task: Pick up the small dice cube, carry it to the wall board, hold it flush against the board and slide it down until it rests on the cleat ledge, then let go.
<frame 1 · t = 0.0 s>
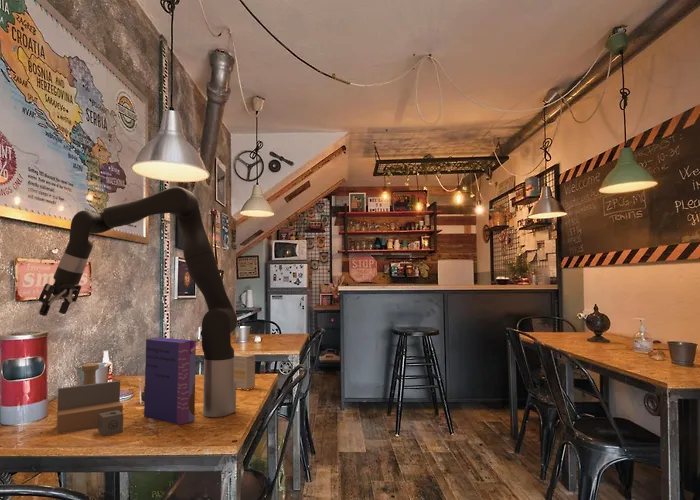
hand: (52, 314, 143), 31 cm above the table, tool tilted 20°, fingers open, 8 cm apart
handle: (88, 412, 140), on the table
cereal box: (168, 419, 132), on the table
supplement box: (243, 389, 169), on the table
dice cube: (110, 432, 120), on the table
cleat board: (88, 422, 129), on the table
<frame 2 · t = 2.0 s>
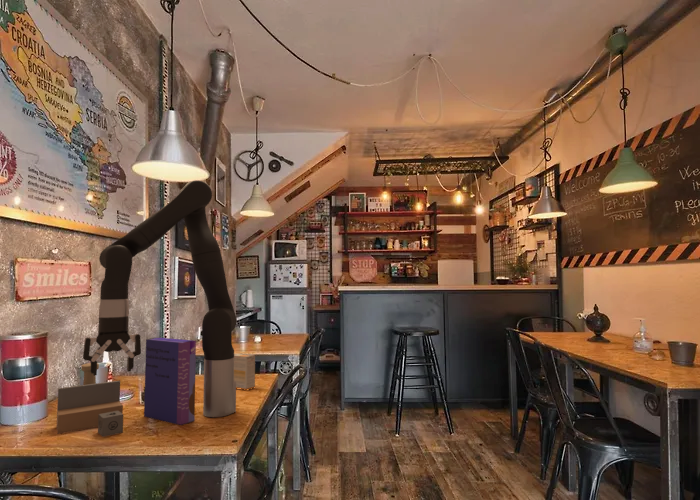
hand: (112, 372, 122), 16 cm above the table, tool pointing down, fingers open, 8 cm apart
nothing on the table moved.
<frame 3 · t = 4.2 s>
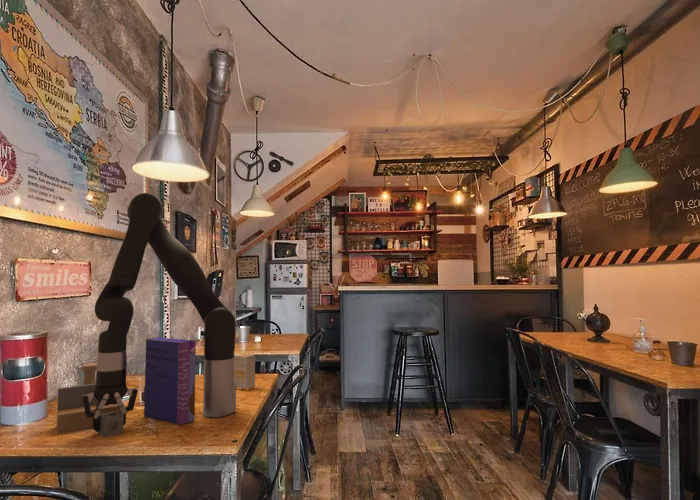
hand: (109, 428, 120), 1 cm above the table, tool pointing down, fingers closed on dice cube, 5 cm apart
dice cube: (110, 433, 119), on the table, touching gripper
everything else where it was.
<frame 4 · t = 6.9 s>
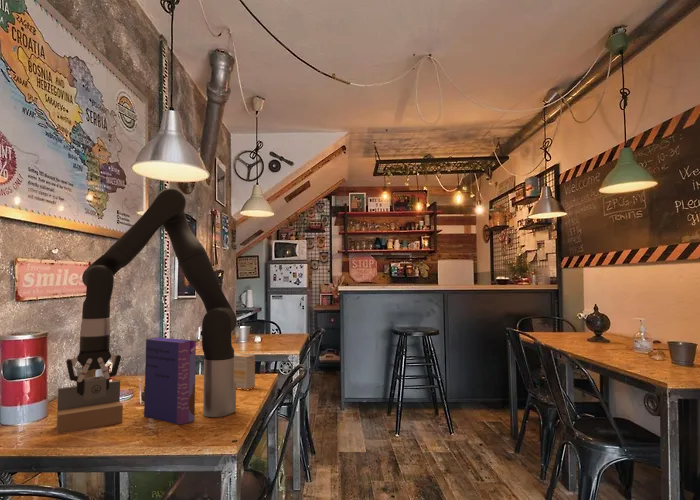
hand: (92, 392, 124), 10 cm above the table, tool pointing down, fingers closed on dice cube, 5 cm apart
dice cube: (93, 397, 123), point 9 cm above the table, touching gripper
everything else where it was.
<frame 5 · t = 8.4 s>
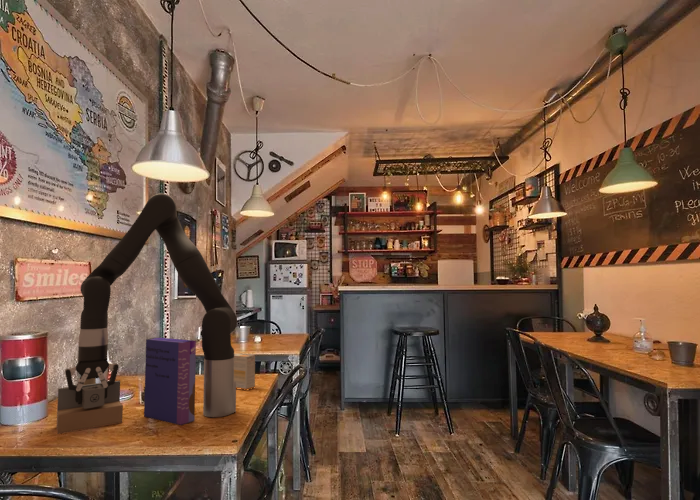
hand: (91, 401, 127), 7 cm above the table, tool pointing down, fingers closed on dice cube, 5 cm apart
dice cube: (92, 406, 126), point 6 cm above the table, touching gripper
everything else where it was.
when the fingers open (6 cm above the table, at t = 9.6 s): dice cube stays where it is, resting on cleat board.
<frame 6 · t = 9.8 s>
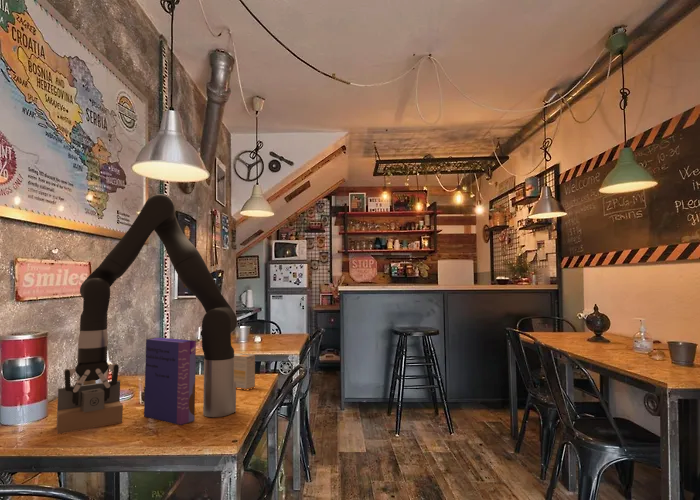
hand: (91, 402, 126), 7 cm above the table, tool pointing down, fingers open, 6 cm apart
dice cube: (92, 409, 125), point 5 cm above the table, touching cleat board
everything else where it was.
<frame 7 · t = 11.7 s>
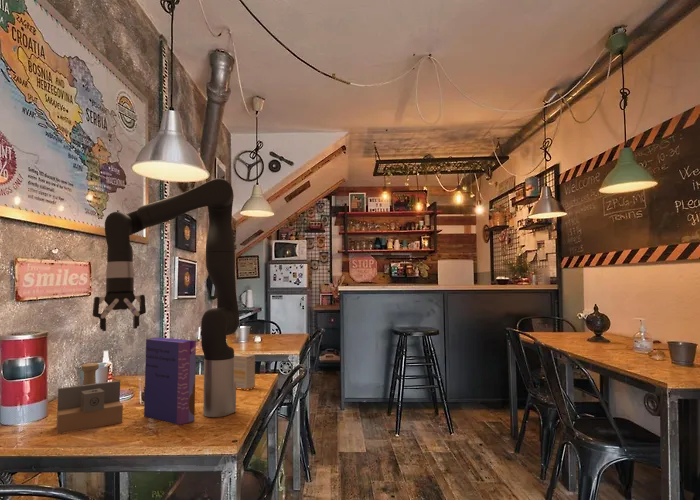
hand: (119, 329, 132), 27 cm above the table, tool pointing down, fingers open, 8 cm apart
nothing on the table moved.
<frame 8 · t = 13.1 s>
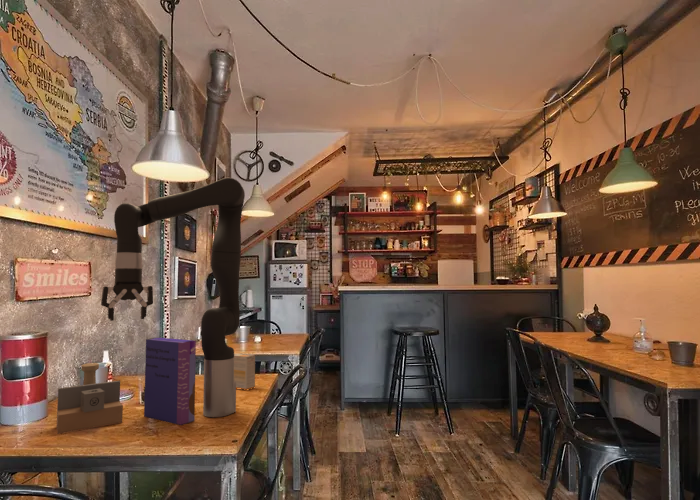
hand: (127, 319, 134), 30 cm above the table, tool pointing down, fingers open, 8 cm apart
nothing on the table moved.
at the end: dice cube inside the target area (1.5 cm from its centre), point 4.8 cm above the table; dice cube touching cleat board; the gripper is holding nothing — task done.
